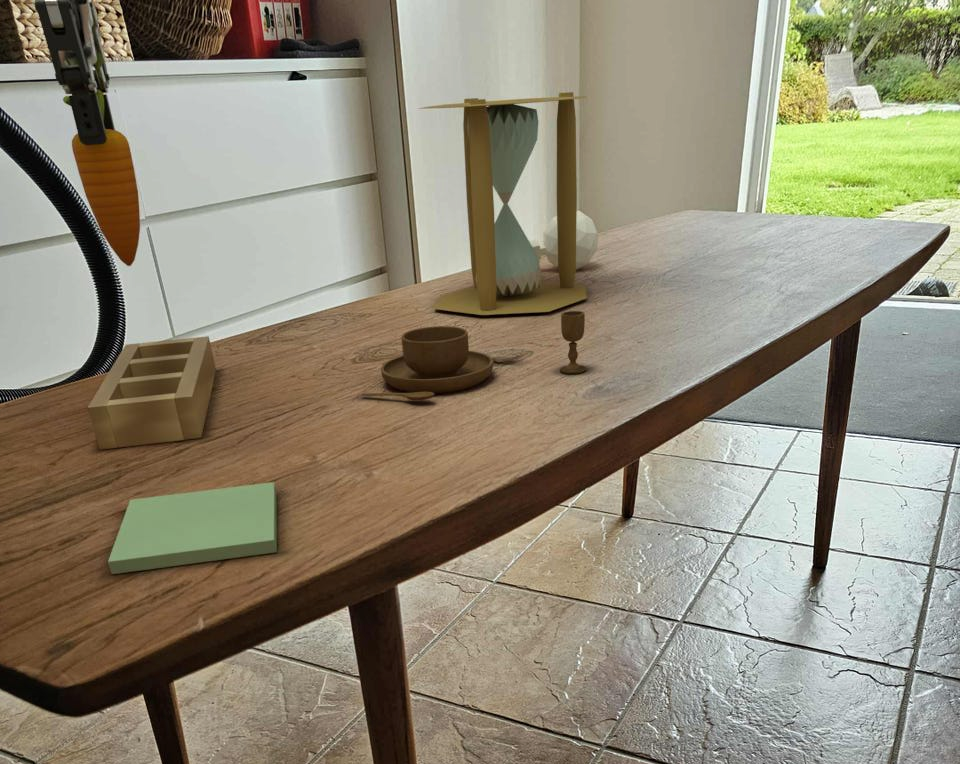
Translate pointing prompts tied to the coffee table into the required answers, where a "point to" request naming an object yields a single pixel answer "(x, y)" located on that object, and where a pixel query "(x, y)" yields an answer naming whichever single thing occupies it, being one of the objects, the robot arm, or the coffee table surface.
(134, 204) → the carrot
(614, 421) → the coffee table surface
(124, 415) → the rack
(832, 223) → the coffee table surface
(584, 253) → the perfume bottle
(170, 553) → the mat
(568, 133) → the hourglass
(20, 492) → the coffee table surface
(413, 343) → the place setting
